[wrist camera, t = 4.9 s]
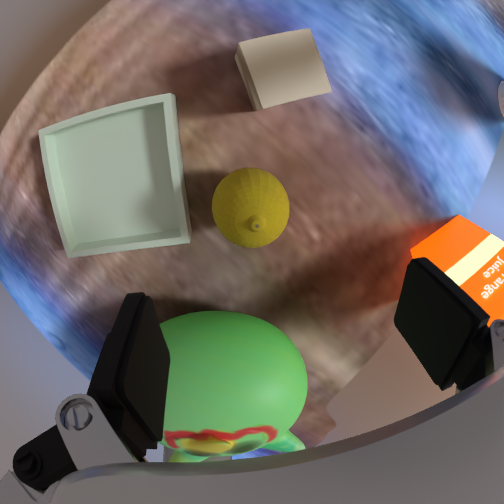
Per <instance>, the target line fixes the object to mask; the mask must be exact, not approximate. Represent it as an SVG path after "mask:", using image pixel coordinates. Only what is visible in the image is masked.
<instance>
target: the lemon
mask: <svg viewBox="0 0 504 504" xmlns="http://www.w3.org/2000/svg"><path fill="white" fill-rule="evenodd" d="M212 213H213V218H214V221H215V223H216V225H217V227H218V229H219V230H220V232H221V233H222V234H223V235H224V236H225V237H226V238H227V239H228V240H230V241H231V242H233V243H234V244H237V245H240V246H242V247H249V248H255V247H261V246H264V245H267V244H269V243H271V242H272V241H274V240H275V239H276V238H277V237H278V236H279V235H280V234H281V233H282V231H283V230H284V228H285V226H286V224H287V221H288V217H289V201H288V197H287V193H286V191H285V190H284V188H283V186H282V184H281V183H280V182H279V181H278V180H277V179H276V178H275V177H274V176H273V175H271V174H270V173H268V172H266V171H264V170H261V169H257V168H242V169H238V170H235V171H233V172H232V173H230V174H228V175H227V176H226V177H225V178H223V179H222V180H221V181H220V183H219V184H218V186H217V187H216V189H215V192H214V195H213V198H212Z"/></svg>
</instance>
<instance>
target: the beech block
mask: <svg viewBox="0 0 504 504" xmlns="http://www.w3.org/2000/svg"><path fill="white" fill-rule="evenodd" d="M235 61H236V63H237V66H238V69H239V71H240V74H241V77H242V79H243V82H244V85H245V88H246V90H247V93H248V96H249V99H250V101H251V104H252V107H253V110H254V111H257V110H261V109H265V108H268V107H272V106H275V105H279V104H283V103H286V102H290V101H294V100H298V99H302V98H307V97H311V96H315V95H320V94H325V93H329V92H332V90H331V87H330V84H329V81H328V78H327V75H326V72H325V69H324V66H323V63H322V60H321V57H320V54H319V52H318V49H317V46H316V44H315V41H314V38H313V36H312V33H311V31H310V28H309V29H302V30H296V31H290V32H284V33H279V34H274V35H269V36H264V37H260V38H256V39H251V40H247V41H244V42H240V43H239V44H238V47H237V51H236V55H235Z"/></svg>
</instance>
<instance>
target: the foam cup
mask: <svg viewBox="0 0 504 504" xmlns="http://www.w3.org/2000/svg"><path fill="white" fill-rule="evenodd" d="M498 101H499V107H500V110H501V113H502V115H503V117H504V81H501V82H500V84H499V87H498Z"/></svg>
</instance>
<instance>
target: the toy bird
mask: <svg viewBox="0 0 504 504" xmlns="http://www.w3.org/2000/svg"><path fill="white" fill-rule="evenodd" d="M160 327H161V330H162V333H163V336H164V339H165V341H166V344H167V347H168V349H169V352H170V368H169V377H168V385H167V395H166V405H165V416H164V427H163V439H162V441H158V443H160V444H162V445H164V446H166V447H168V448H171V449H173V450H174V452H173V454H172V456H171V458H170V459H169V461H168V462H201V461H203V460H205V459H207V458H209V457H220V456H231V455H237V454H242V453H246V452H249V451H253V450H255V449H258V448H266V449H271V450H276V451H282V452H293V451H298V450H303V449H305V446H304V444H303V443H302V442H301V441H300V440H299V439H298V438H297V437H296V436H295V435H293V434H292V433H291V432H290V431H289V430H288V429H289V428H290V427H291V426H292V425H293V424H294V423H295V421H296V420H297V418H298V417H299V415H300V413H301V411H302V409H303V406H304V403H305V400H306V395H307V373H306V368H305V365H304V362H303V359H302V357H301V355H300V353H299V351H298V349H297V348H296V346H295V345H294V343H293V342H292V341H291V340H290V339H289V338H288V337H287V336H286V335H285V334H284V333H283V332H282V331H281V330H279V329H278V328H277V327H275V326H274V325H272V324H270V323H268V322H266V321H264V320H262V319H260V318H257V317H254V316H251V315H247V314H243V313H237V312H230V311H201V312H194V313H189V314H185V315H181V316H178V317H175V318H172V319H169V320H167V321H165V322H162V323H160Z"/></svg>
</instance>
